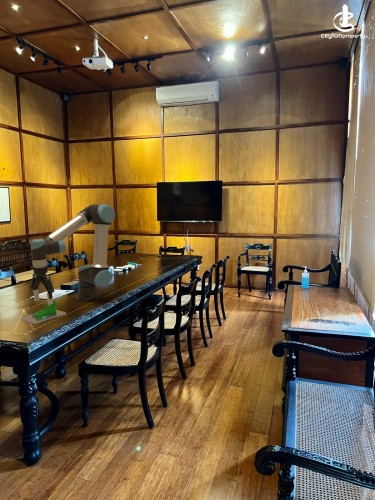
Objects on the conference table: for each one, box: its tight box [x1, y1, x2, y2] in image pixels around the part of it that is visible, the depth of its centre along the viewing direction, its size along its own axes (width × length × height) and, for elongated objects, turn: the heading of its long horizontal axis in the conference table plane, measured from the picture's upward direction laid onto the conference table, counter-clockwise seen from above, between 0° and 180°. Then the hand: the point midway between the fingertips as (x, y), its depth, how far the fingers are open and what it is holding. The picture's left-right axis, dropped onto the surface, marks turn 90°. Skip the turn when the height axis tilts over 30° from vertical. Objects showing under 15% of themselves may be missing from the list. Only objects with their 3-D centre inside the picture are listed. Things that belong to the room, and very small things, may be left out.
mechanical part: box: [34, 299, 58, 318], centre depth 204 cm, size 12×6×8 cm, turn 155°
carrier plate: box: [20, 309, 67, 325], centre depth 204 cm, size 20×14×1 cm
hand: (43, 302), depth 203 cm, fingers open, 13 cm apart
